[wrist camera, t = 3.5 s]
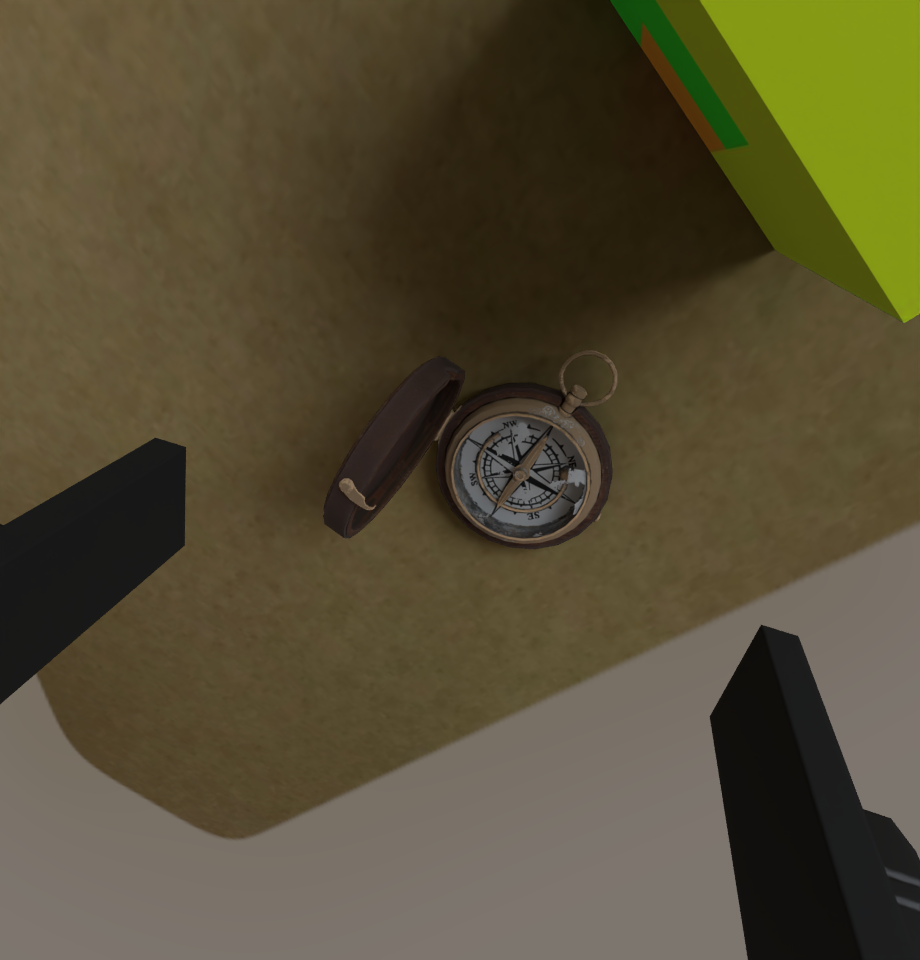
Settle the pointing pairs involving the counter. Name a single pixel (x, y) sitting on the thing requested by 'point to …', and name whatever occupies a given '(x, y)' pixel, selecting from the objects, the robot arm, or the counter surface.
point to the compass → (483, 457)
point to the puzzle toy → (807, 125)
